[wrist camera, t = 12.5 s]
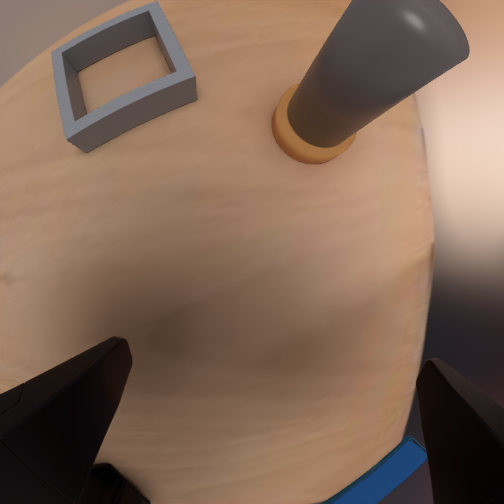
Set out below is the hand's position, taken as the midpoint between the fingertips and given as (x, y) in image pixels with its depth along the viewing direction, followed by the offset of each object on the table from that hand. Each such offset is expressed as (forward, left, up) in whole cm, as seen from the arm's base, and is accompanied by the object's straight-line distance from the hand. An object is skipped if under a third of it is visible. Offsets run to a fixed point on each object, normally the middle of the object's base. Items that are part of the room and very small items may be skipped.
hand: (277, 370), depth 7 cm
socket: (-2, +17, -10) cm, 19 cm away
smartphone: (+2, -26, -10) cm, 28 cm away
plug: (+8, +8, -10) cm, 15 cm away
